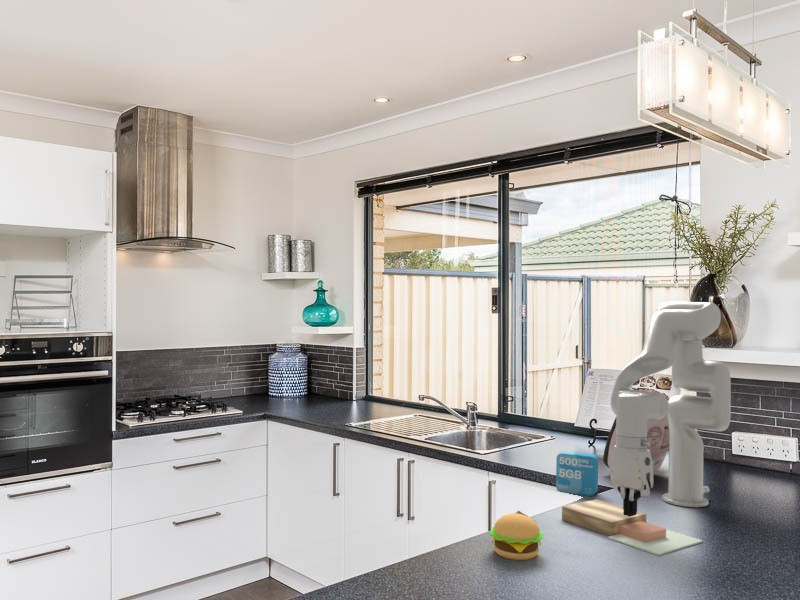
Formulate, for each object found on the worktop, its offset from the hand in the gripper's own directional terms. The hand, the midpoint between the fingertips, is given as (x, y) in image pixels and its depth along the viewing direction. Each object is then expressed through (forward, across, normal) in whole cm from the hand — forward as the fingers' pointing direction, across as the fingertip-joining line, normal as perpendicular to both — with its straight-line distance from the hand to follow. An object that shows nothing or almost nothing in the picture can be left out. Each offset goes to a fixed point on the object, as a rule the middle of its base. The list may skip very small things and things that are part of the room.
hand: (630, 514), depth 174 cm
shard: (+5, +21, +19) cm, 29 cm away
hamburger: (+5, +4, +36) cm, 37 cm away
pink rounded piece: (+4, +35, -53) cm, 64 cm away
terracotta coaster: (+4, -4, 0) cm, 6 cm away
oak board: (+4, +8, 0) cm, 9 cm away
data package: (+5, +33, -19) cm, 38 cm away
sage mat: (+4, -7, 0) cm, 9 cm away
